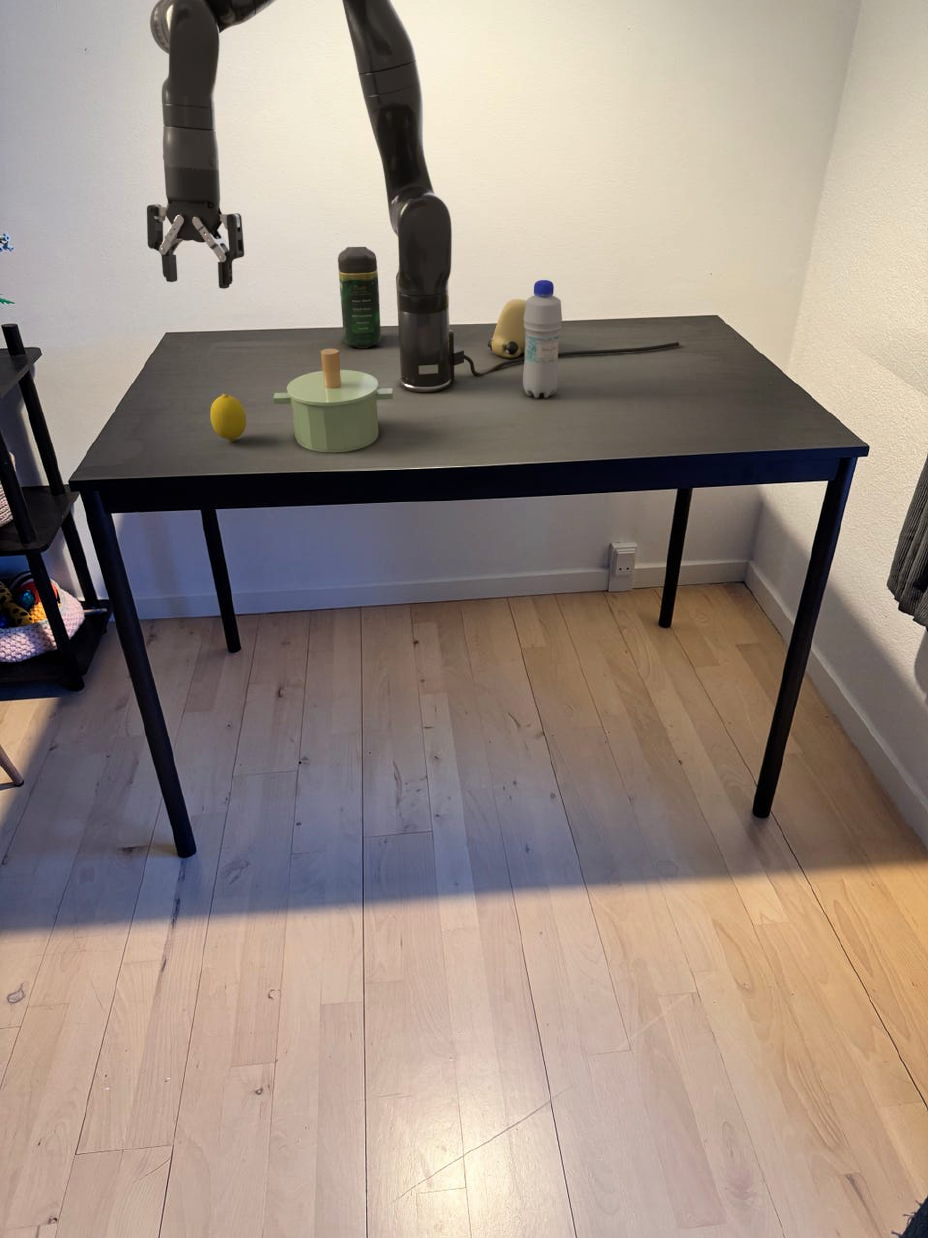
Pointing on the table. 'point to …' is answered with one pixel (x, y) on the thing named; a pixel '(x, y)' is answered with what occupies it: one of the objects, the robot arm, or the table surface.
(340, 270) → the coffee jar
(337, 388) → the lid
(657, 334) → the table surface
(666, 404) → the table surface
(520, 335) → the beige curved piece
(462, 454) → the table surface
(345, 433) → the pot
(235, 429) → the lemon
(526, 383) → the bottle
